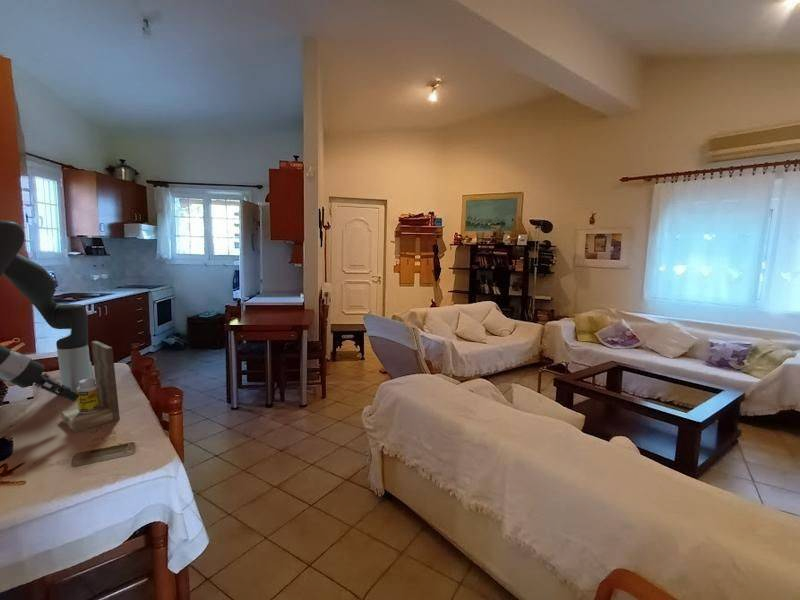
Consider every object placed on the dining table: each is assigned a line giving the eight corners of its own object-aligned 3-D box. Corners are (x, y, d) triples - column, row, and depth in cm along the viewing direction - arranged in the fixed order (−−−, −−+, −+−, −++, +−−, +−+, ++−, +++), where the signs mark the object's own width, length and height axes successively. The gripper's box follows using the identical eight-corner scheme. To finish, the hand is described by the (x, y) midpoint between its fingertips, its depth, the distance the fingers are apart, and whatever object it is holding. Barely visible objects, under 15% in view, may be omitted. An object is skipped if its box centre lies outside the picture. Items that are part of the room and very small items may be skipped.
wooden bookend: (61, 420, 129) (52, 348, 125) (104, 408, 138) (96, 340, 134) (75, 433, 120) (66, 356, 117) (119, 419, 129) (112, 347, 126)
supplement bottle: (77, 415, 125) (74, 384, 123) (80, 409, 129) (76, 379, 128) (99, 412, 128) (96, 381, 126) (101, 405, 132) (98, 376, 131)
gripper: (35, 362, 111) (89, 389, 122) (22, 353, 119) (74, 379, 130) (11, 385, 107) (69, 411, 118) (0, 375, 116) (55, 400, 127)
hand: (72, 394), depth 124 cm, fingers open, 8 cm apart
